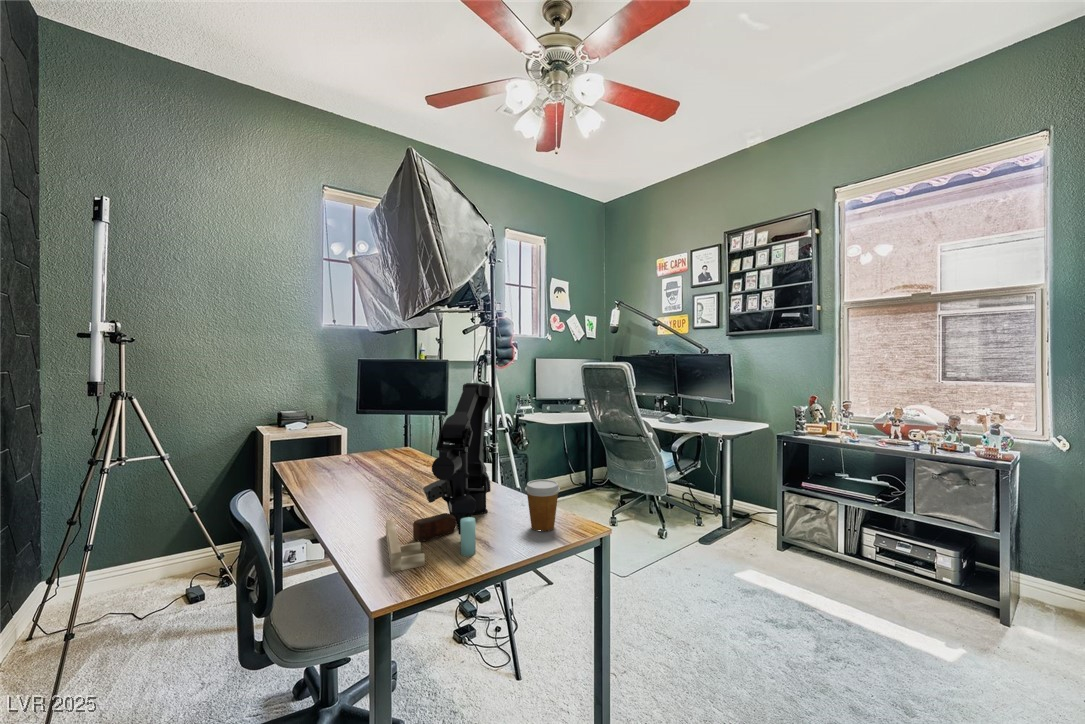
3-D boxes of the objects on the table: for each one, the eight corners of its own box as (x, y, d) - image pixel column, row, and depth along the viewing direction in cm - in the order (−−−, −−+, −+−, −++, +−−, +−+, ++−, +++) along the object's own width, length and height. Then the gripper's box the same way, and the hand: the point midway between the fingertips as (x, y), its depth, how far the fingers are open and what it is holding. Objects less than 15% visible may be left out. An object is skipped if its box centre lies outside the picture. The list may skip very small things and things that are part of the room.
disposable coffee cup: (529, 520, 126) (529, 478, 126) (562, 522, 124) (562, 479, 124) (521, 533, 116) (521, 488, 116) (557, 535, 115) (557, 489, 114)
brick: (420, 543, 110) (420, 524, 110) (413, 538, 113) (412, 520, 113) (456, 532, 117) (456, 514, 117) (448, 527, 120) (448, 510, 120)
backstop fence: (413, 531, 118) (413, 516, 118) (424, 565, 98) (424, 548, 98) (385, 535, 115) (385, 520, 115) (391, 571, 95) (391, 553, 95)
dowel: (473, 548, 107) (473, 516, 107) (477, 554, 104) (476, 521, 103) (459, 551, 105) (459, 518, 105) (462, 557, 102) (462, 523, 102)
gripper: (420, 464, 121) (421, 520, 122) (431, 482, 104) (431, 547, 104) (460, 460, 126) (461, 514, 126) (476, 476, 108) (477, 539, 109)
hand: (457, 527), depth 116 cm, fingers open, 9 cm apart
